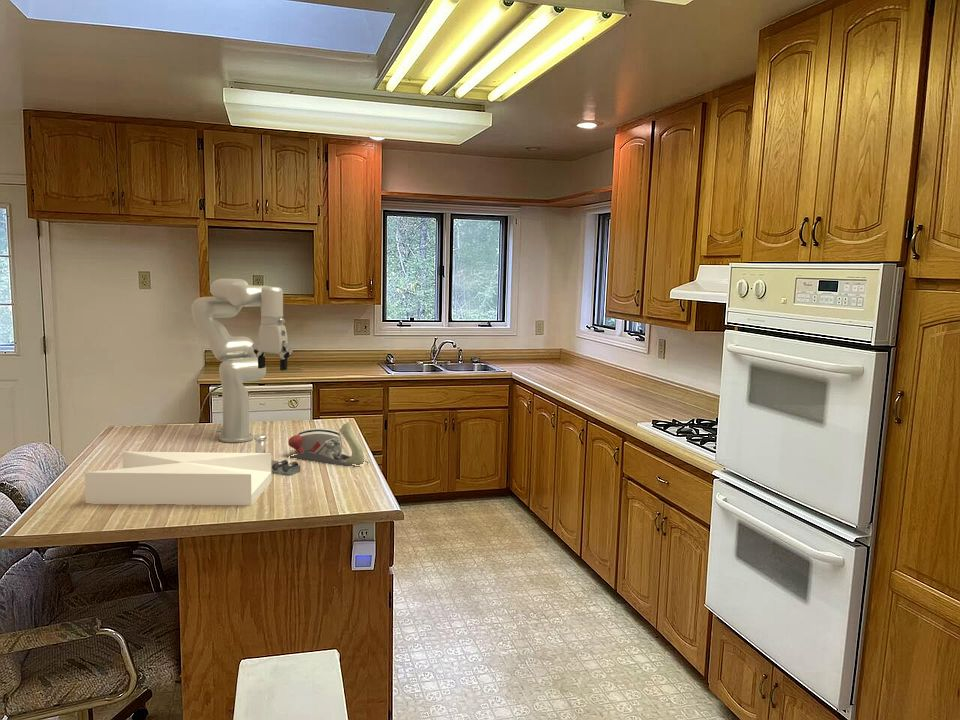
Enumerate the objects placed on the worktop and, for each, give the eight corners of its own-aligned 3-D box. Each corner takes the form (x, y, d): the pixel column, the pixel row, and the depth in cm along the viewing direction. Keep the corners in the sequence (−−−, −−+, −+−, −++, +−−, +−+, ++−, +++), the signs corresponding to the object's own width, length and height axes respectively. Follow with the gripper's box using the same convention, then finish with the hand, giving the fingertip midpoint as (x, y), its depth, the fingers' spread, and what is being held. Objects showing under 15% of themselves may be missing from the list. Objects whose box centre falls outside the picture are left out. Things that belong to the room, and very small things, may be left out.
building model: (271, 482, 211) (271, 453, 210) (251, 506, 189) (251, 473, 188) (123, 481, 208) (122, 451, 207) (85, 505, 186) (84, 472, 185)
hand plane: (360, 469, 228) (360, 425, 226) (283, 458, 239) (283, 416, 237) (370, 464, 235) (371, 421, 233) (295, 453, 246) (295, 413, 244)
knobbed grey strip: (210, 463, 228) (210, 454, 228) (225, 458, 235) (225, 450, 235) (288, 476, 217) (288, 466, 216) (302, 470, 223) (302, 461, 223)
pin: (259, 465, 228) (259, 433, 226) (269, 467, 226) (269, 435, 225) (251, 468, 224) (251, 436, 223) (261, 470, 223) (261, 437, 221)
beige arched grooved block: (343, 448, 253) (342, 426, 248) (342, 455, 249) (341, 433, 244) (297, 448, 251) (296, 426, 246) (295, 456, 247) (294, 433, 242)
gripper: (298, 322, 241) (299, 369, 243) (259, 319, 247) (260, 366, 249) (285, 323, 234) (285, 372, 236) (245, 320, 240) (246, 368, 242)
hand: (272, 369), depth 243 cm, fingers open, 9 cm apart
